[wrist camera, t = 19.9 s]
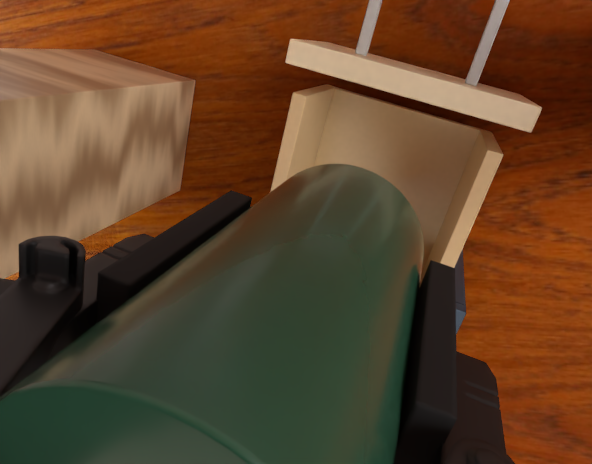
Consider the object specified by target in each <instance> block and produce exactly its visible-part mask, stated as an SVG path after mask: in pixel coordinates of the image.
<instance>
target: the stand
mask: <svg viewBox="0 0 592 464" xmlns="http://www.w3.org/2000/svg"><path fill="white" fill-rule="evenodd" d="M194 88H195V80H193V79H190V78H186V77H183V76H180V75H177V74H173V73H170V72H167V71H163V70H160V69H157V68H154V67H150V66H147V65H144V64H140V63H137V62H134V61H131V60H127V59H124V58H121V57H117V56H114V55H111V54H108V53H104V52H101V51H98V50H94V49H12V48H0V278H2V279H5V278H7V277H9V276H11V275H13V274H15V273H17V272H19V244H20V243H21V242H23V241H25V240H27V239H31V238H35V237H39V236H61V237H67V238H70V239H73V240H76V241H80V240H82V239H84V238H86V237H88V236H90V235H92V234H94V233H96V232H98V231H100V230H102V229H104V228H106V227H108V226H110V225H112V224H114V223H116V222H118V221H120V220H122V219H124V218H126V217H128V216H130V215H132V214H134V213H136V212H138V211H140V210H142V209H144V208H146V207H148V206H150V205H152V204H154V203H156V202H158V201H160V200H162V199H164V198H166V197H168V196H170V195H172V194H174V193H176V192H178V191H180V188H181V181H182V174H183V167H184V160H185V153H186V146H187V138H188V131H189V124H190V117H191V110H192V103H193V96H194Z"/></svg>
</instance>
